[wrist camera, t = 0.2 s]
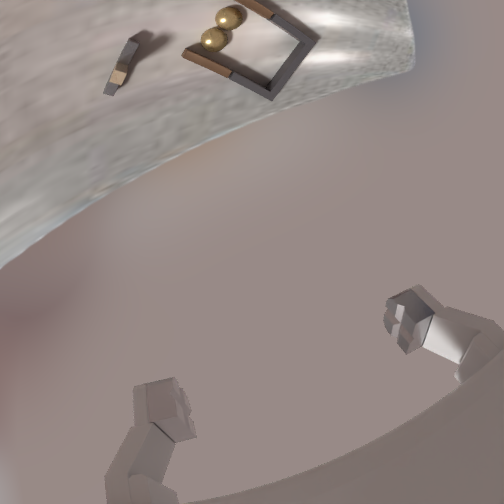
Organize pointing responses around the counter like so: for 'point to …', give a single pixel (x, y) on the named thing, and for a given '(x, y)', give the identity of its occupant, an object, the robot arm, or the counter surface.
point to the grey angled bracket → (286, 68)
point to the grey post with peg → (121, 67)
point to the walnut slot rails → (214, 66)
